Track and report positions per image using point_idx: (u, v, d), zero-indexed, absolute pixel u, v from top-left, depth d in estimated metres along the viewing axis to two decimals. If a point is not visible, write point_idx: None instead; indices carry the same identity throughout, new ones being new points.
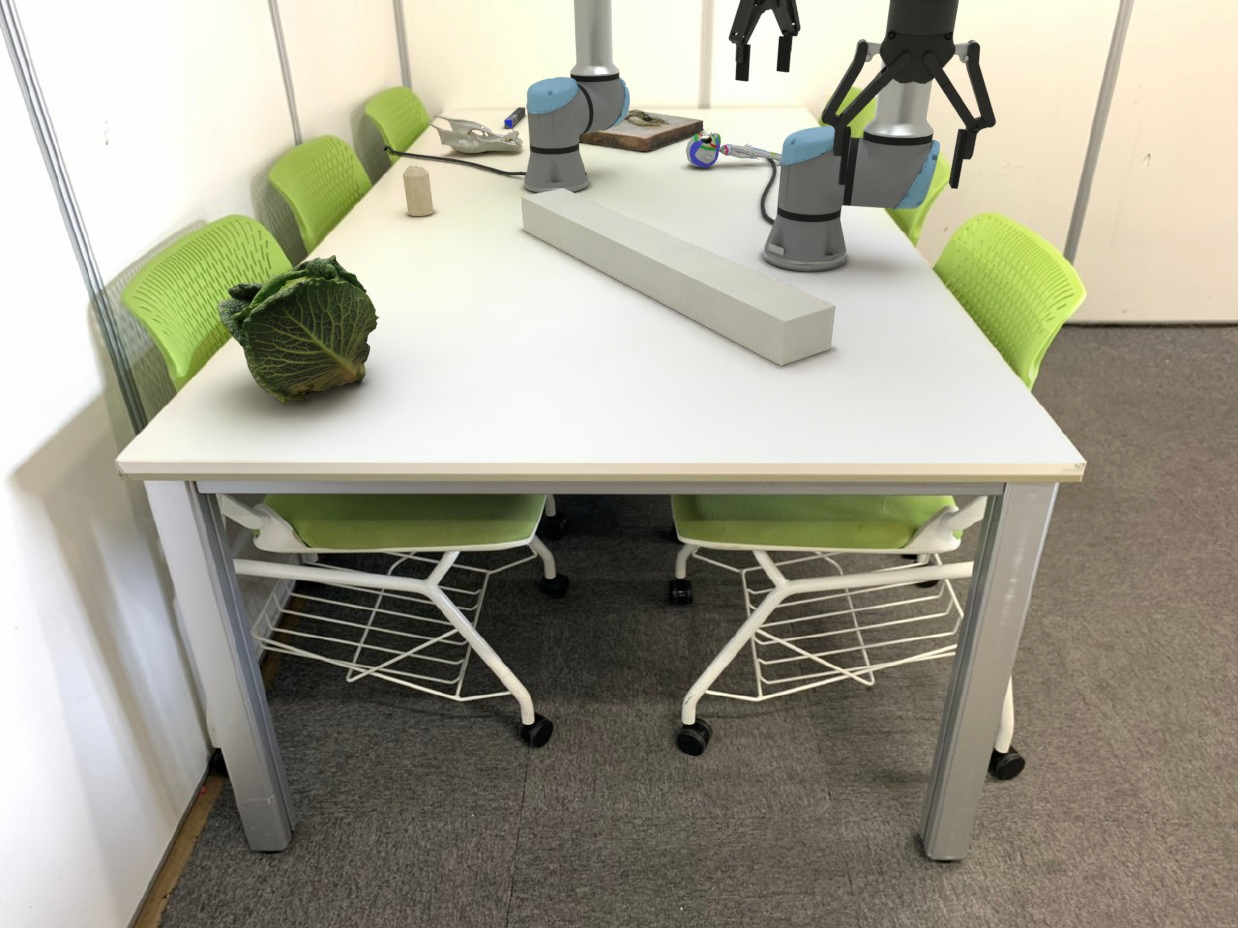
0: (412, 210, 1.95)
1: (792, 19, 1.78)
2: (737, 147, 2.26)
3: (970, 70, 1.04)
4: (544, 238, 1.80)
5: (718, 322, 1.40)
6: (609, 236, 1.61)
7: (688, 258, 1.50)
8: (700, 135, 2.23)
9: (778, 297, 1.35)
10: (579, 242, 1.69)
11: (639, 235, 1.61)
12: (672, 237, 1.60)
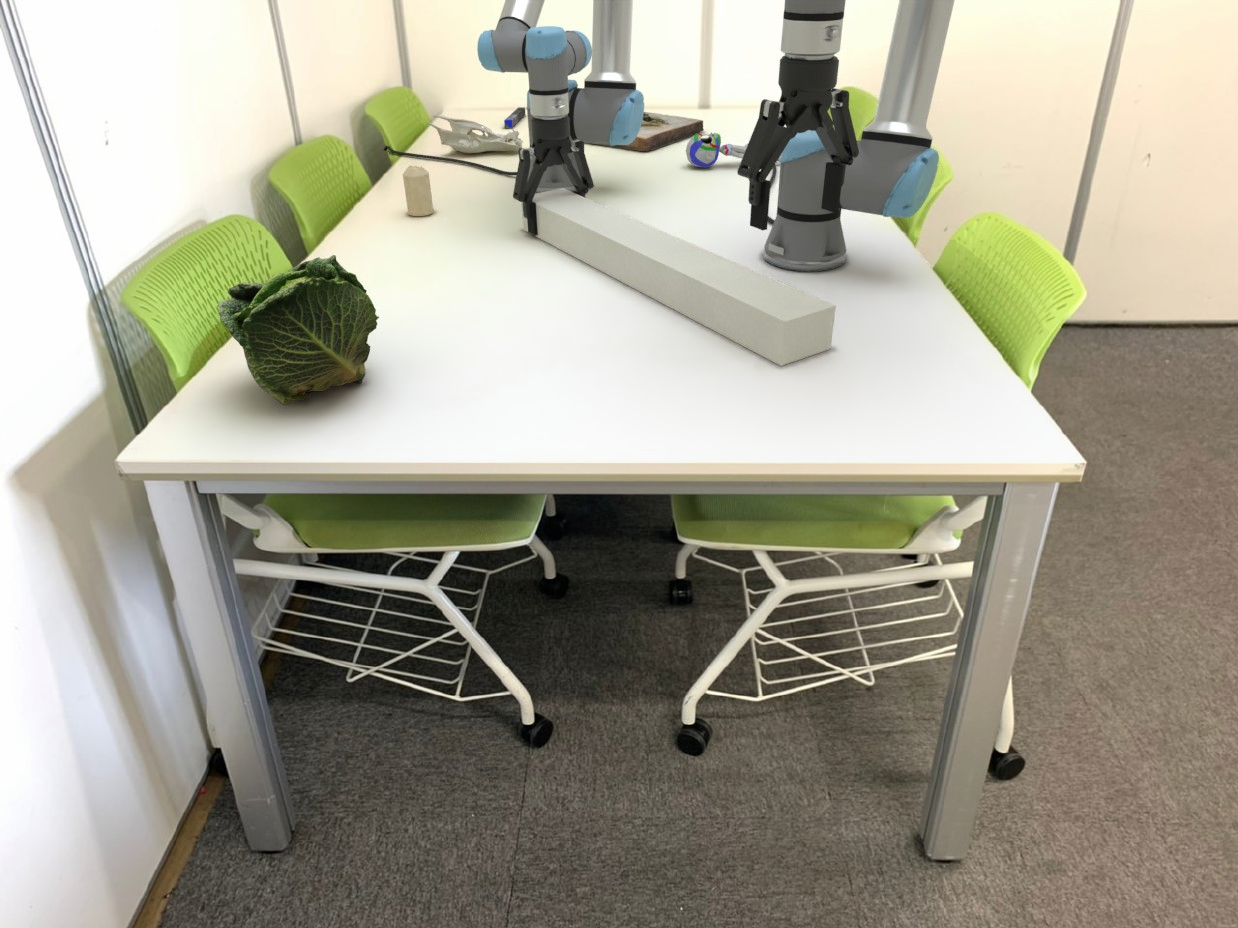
0: (412, 210, 1.95)
1: (584, 175, 1.83)
2: (737, 147, 2.26)
3: (843, 113, 1.21)
4: (544, 238, 1.80)
5: (718, 322, 1.40)
6: (609, 236, 1.61)
7: (688, 258, 1.50)
8: (700, 135, 2.23)
9: (778, 297, 1.35)
10: (579, 241, 1.69)
11: (639, 235, 1.61)
12: (672, 237, 1.60)
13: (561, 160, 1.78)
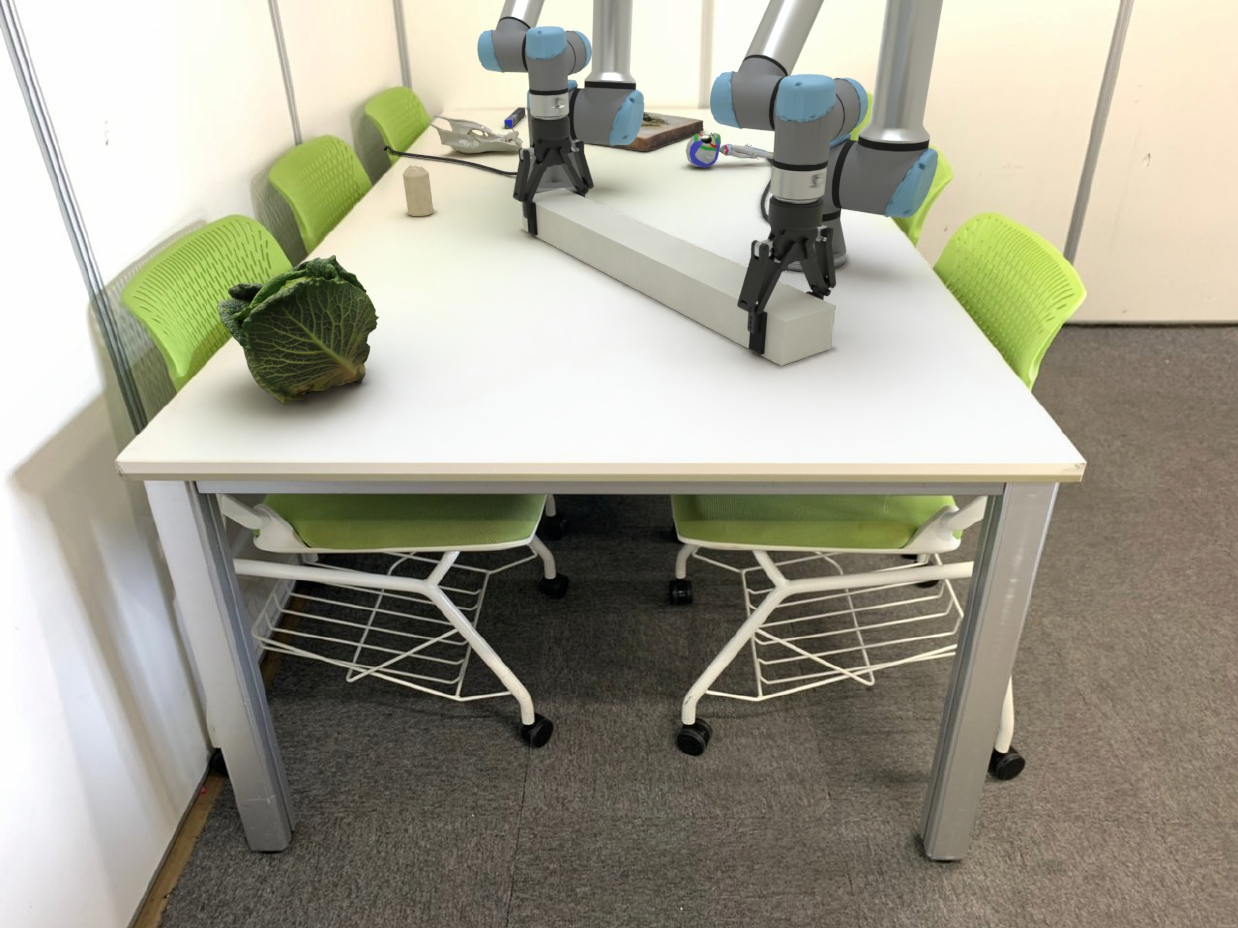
0: (412, 210, 1.95)
1: (584, 175, 1.83)
2: (737, 147, 2.26)
3: (826, 247, 1.31)
4: (544, 238, 1.80)
5: (718, 322, 1.40)
6: (609, 236, 1.61)
7: (688, 258, 1.50)
8: (700, 135, 2.23)
9: (778, 297, 1.35)
10: (579, 242, 1.69)
11: (639, 235, 1.61)
12: (672, 237, 1.60)
13: (561, 160, 1.78)
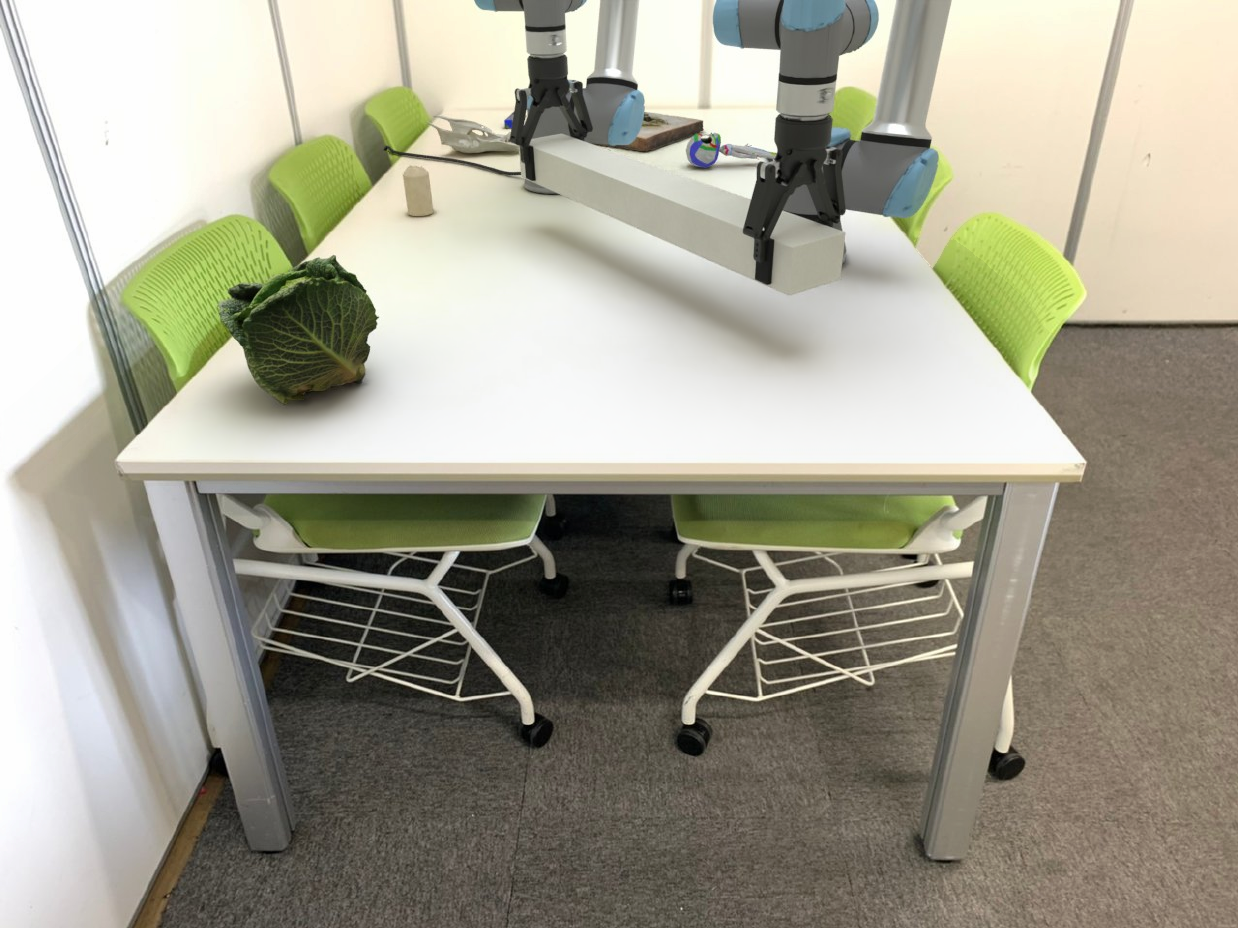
0: (412, 210, 1.95)
1: (583, 119, 1.77)
2: (737, 147, 2.26)
3: (835, 171, 1.25)
4: (543, 183, 1.75)
5: (723, 255, 1.35)
6: (609, 175, 1.55)
7: (690, 193, 1.45)
8: (700, 135, 2.23)
9: (785, 226, 1.30)
10: (579, 183, 1.63)
11: (640, 173, 1.55)
12: (674, 174, 1.54)
13: (559, 102, 1.72)
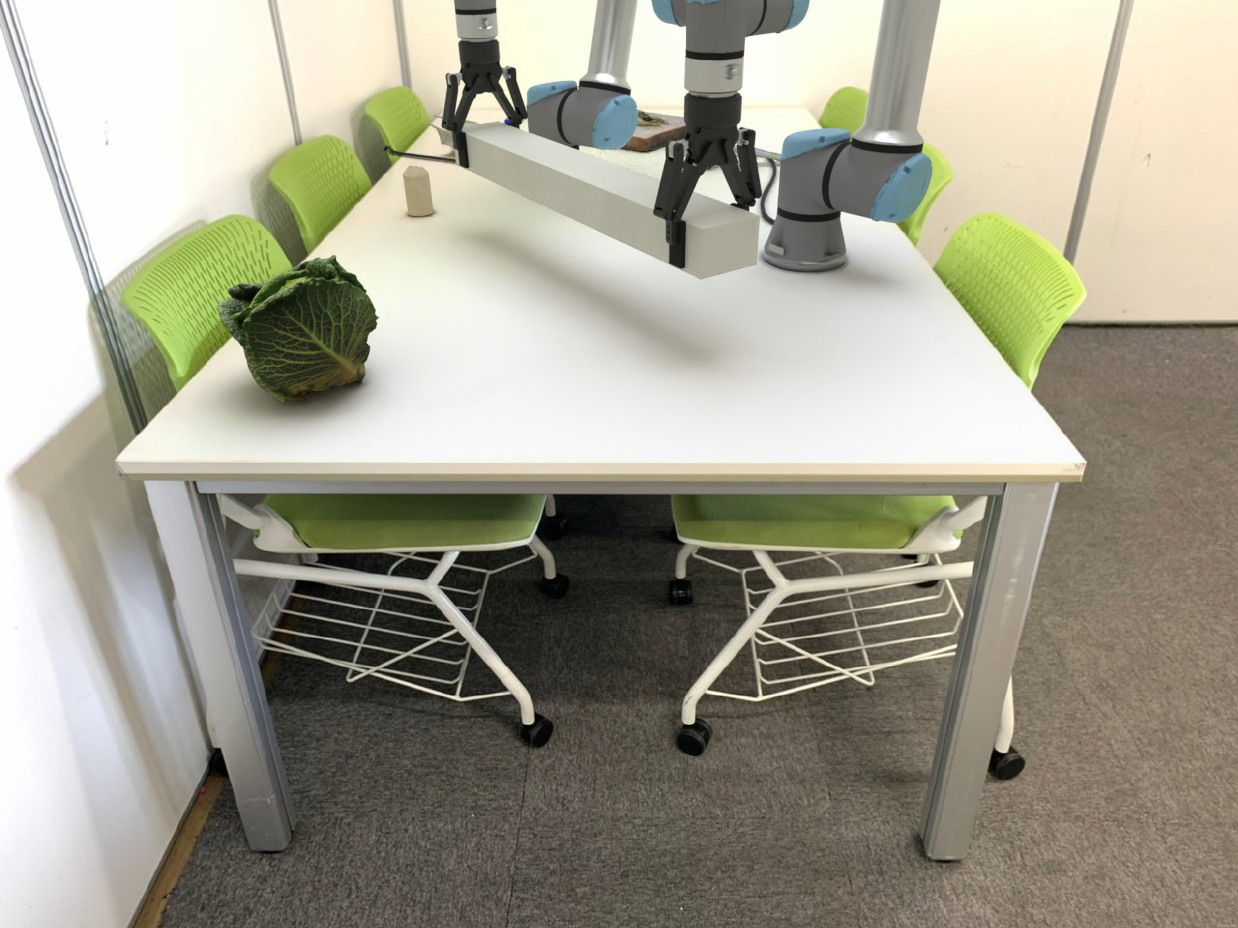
0: (412, 210, 1.95)
1: (517, 105, 1.75)
2: None
3: (749, 152, 1.23)
4: (475, 170, 1.72)
5: (640, 239, 1.32)
6: (535, 159, 1.52)
7: (613, 177, 1.42)
8: None
9: (700, 209, 1.26)
10: (507, 169, 1.60)
11: (567, 158, 1.52)
12: (601, 160, 1.51)
13: (492, 87, 1.70)
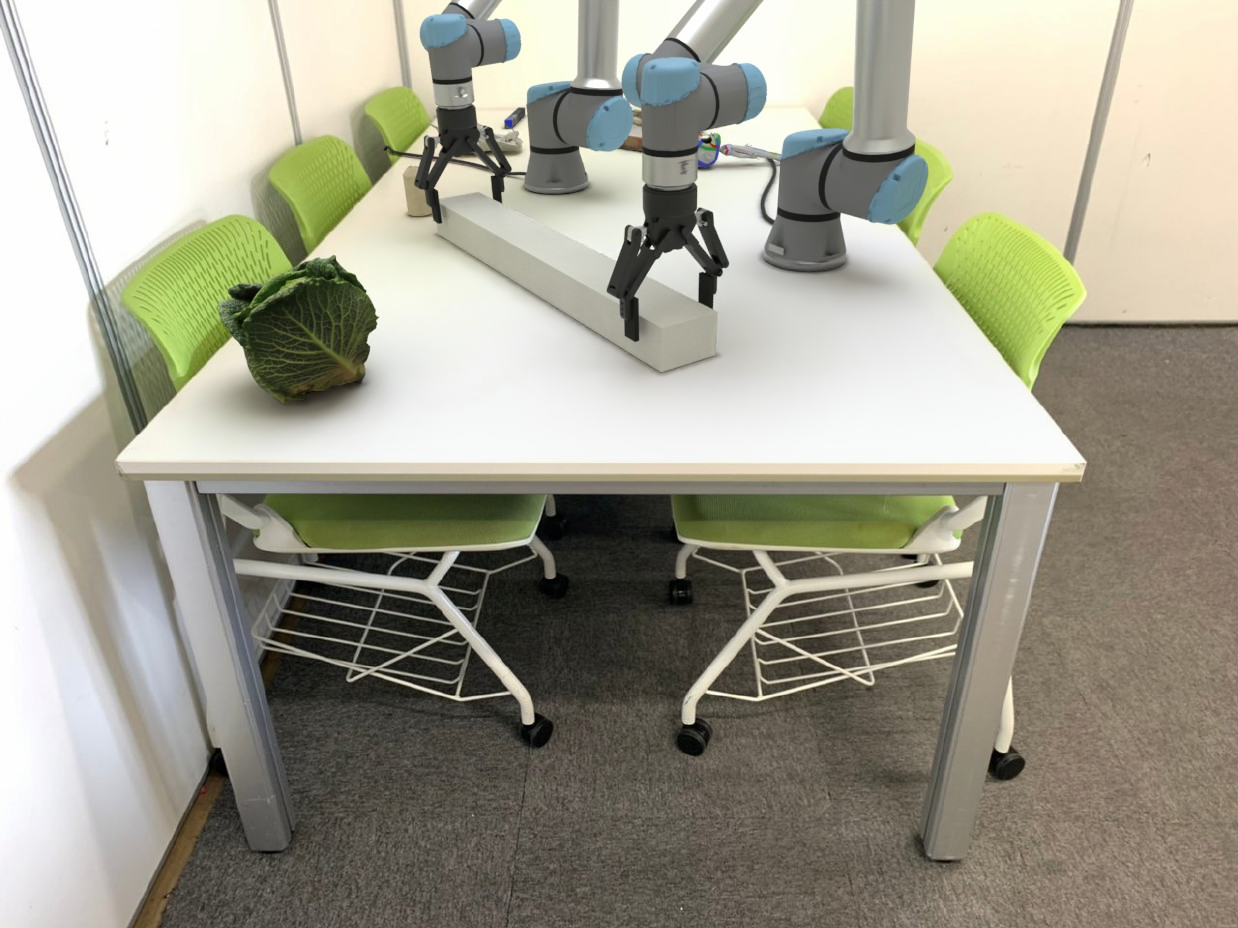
0: (412, 210, 1.95)
1: (500, 161, 1.80)
2: (737, 147, 2.26)
3: (709, 231, 1.28)
4: (456, 242, 1.79)
5: (606, 328, 1.39)
6: (510, 240, 1.59)
7: (582, 263, 1.49)
8: (700, 135, 2.23)
9: (662, 303, 1.34)
10: (485, 246, 1.67)
11: (540, 239, 1.60)
12: (573, 241, 1.58)
13: (471, 149, 1.75)
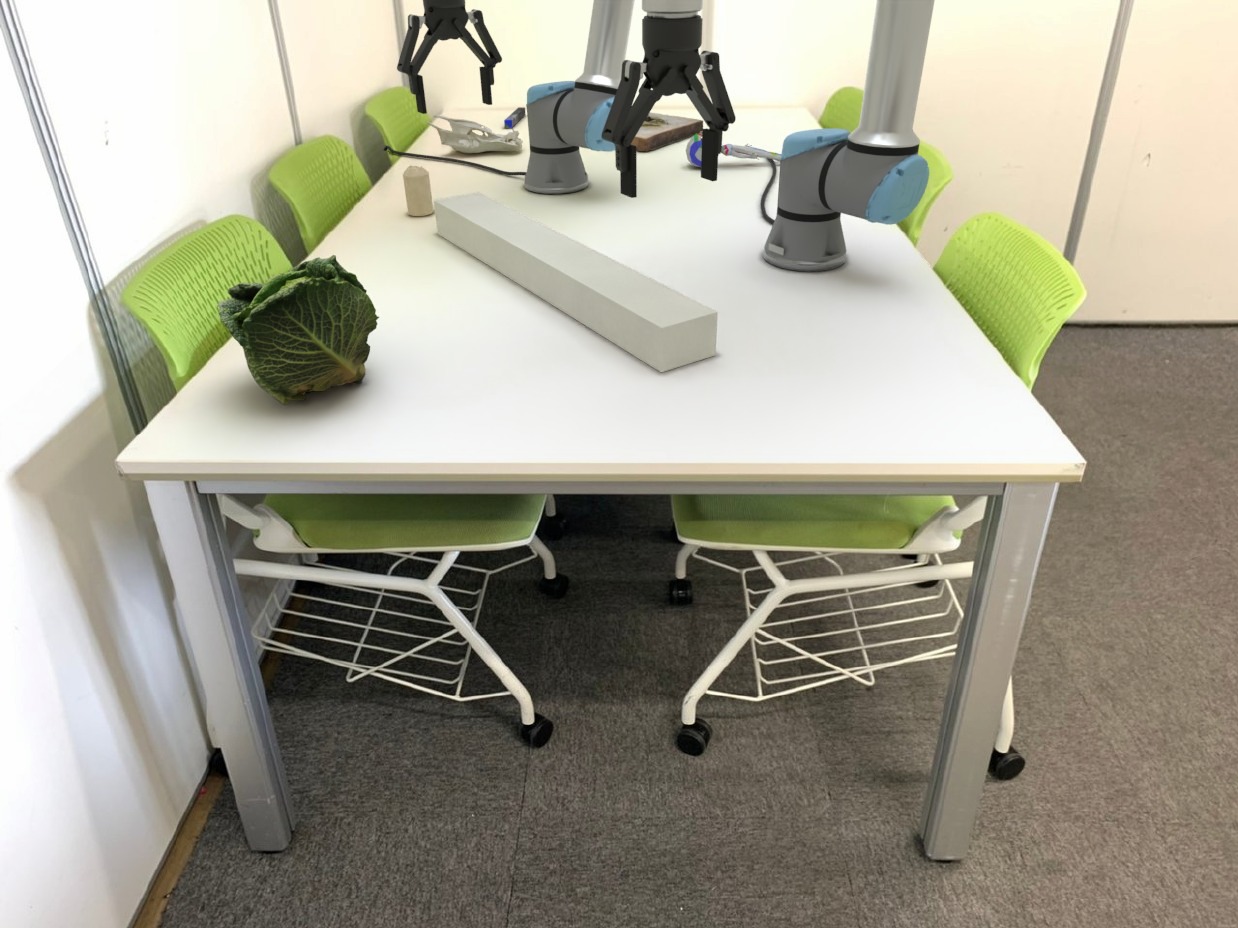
0: (412, 210, 1.95)
1: (489, 49, 1.69)
2: (737, 147, 2.26)
3: (714, 77, 1.17)
4: (456, 242, 1.79)
5: (606, 328, 1.39)
6: (510, 240, 1.59)
7: (582, 263, 1.49)
8: (700, 135, 2.23)
9: (662, 303, 1.34)
10: (485, 246, 1.67)
11: (540, 239, 1.60)
12: (573, 241, 1.58)
13: (459, 33, 1.64)
